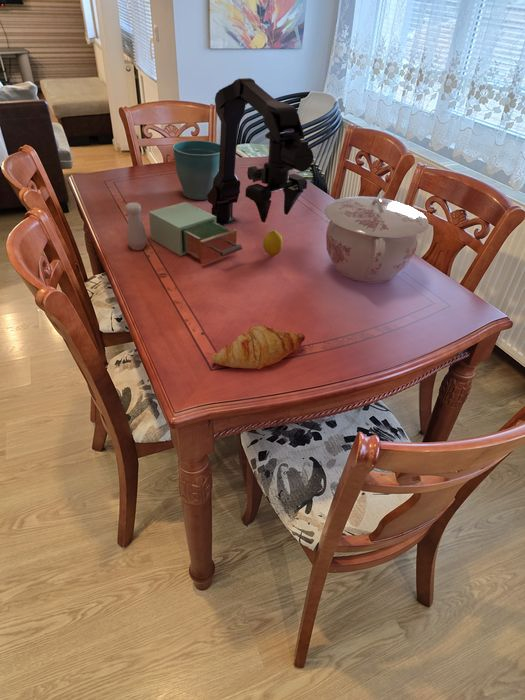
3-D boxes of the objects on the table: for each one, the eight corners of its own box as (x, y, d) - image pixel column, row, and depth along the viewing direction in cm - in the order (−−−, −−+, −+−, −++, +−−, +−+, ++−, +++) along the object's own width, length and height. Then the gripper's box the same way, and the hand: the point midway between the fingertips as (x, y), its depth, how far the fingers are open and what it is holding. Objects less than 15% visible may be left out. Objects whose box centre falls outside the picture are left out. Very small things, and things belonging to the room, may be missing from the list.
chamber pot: (354, 241, 149) (366, 175, 136) (430, 274, 134) (453, 204, 121) (295, 267, 133) (303, 195, 120) (375, 308, 118) (394, 230, 105)
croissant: (217, 387, 96) (223, 372, 89) (202, 344, 100) (207, 327, 93) (306, 362, 104) (318, 347, 97) (290, 323, 107) (300, 306, 100)
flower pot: (233, 194, 177) (234, 147, 166) (204, 207, 164) (203, 157, 154) (196, 183, 184) (194, 137, 173) (165, 195, 171) (161, 146, 161)
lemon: (275, 262, 135) (277, 236, 130) (259, 256, 137) (260, 231, 132) (284, 255, 138) (287, 230, 133) (268, 250, 140) (270, 225, 136)
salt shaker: (143, 252, 135) (138, 209, 127) (124, 250, 135) (118, 206, 127) (151, 244, 139) (146, 201, 131) (132, 241, 140) (127, 199, 132)
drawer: (248, 258, 133) (249, 236, 129) (215, 272, 126) (215, 249, 122) (206, 236, 143) (206, 215, 139) (173, 247, 136) (172, 225, 132)
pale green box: (216, 243, 142) (216, 216, 137) (180, 256, 134) (178, 227, 129) (186, 227, 150) (185, 201, 145) (151, 239, 142) (148, 211, 137)
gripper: (281, 147, 130) (276, 202, 140) (231, 158, 120) (230, 216, 129) (311, 157, 125) (304, 213, 134) (262, 169, 114) (258, 230, 123)
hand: (274, 218), depth 130 cm, fingers open, 9 cm apart
